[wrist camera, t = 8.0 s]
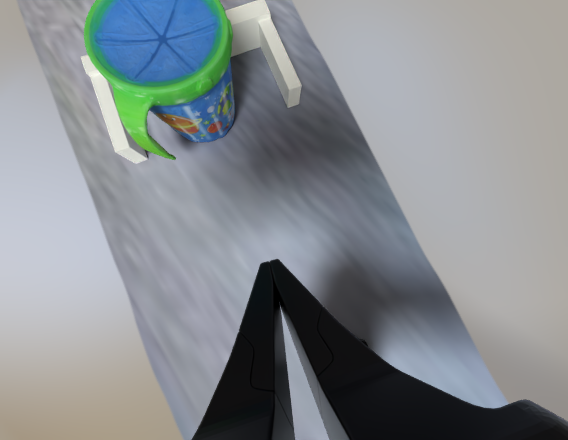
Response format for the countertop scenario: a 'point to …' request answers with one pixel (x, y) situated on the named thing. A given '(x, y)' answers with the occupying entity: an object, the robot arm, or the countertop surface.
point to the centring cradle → (246, 36)
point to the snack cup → (165, 65)
